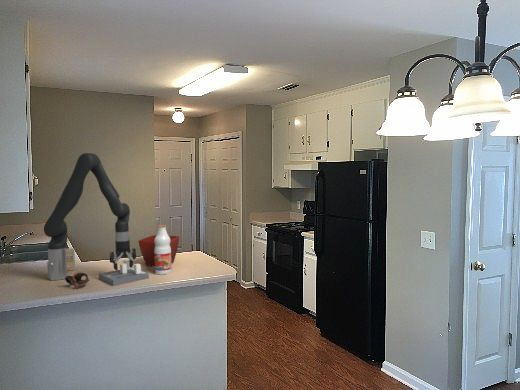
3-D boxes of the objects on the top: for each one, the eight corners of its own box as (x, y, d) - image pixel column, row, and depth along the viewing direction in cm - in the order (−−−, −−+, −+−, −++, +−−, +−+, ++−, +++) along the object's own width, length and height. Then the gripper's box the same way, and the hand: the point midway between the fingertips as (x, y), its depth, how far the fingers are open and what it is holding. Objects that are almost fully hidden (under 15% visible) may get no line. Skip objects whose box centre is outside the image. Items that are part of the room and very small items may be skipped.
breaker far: (126, 270, 240) (125, 261, 240) (123, 269, 242) (123, 260, 242) (130, 269, 242) (130, 260, 241) (128, 268, 244) (127, 259, 244)
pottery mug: (90, 283, 227) (91, 272, 223) (84, 296, 219) (86, 284, 215) (66, 279, 225) (68, 268, 221) (60, 292, 217) (61, 280, 213)
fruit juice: (174, 271, 248) (173, 224, 246) (165, 275, 239) (163, 226, 237) (161, 270, 252) (160, 223, 250) (151, 274, 243) (150, 225, 241)
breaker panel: (113, 285, 220) (113, 280, 220) (99, 278, 235) (99, 273, 234) (148, 278, 234) (148, 273, 234) (133, 272, 248) (133, 267, 248)
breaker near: (136, 274, 231) (136, 265, 230) (134, 273, 233) (133, 264, 232) (140, 273, 232) (140, 264, 232) (138, 272, 234) (138, 263, 234)
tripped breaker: (122, 273, 232) (122, 264, 232) (120, 272, 234) (120, 263, 234) (127, 272, 234) (126, 264, 233) (124, 271, 236) (124, 263, 236)
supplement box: (59, 271, 252) (58, 250, 251) (60, 269, 257) (59, 248, 256) (74, 270, 254) (73, 249, 253) (75, 268, 259) (74, 247, 258)
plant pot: (166, 269, 255) (165, 241, 254) (138, 267, 260) (137, 240, 258) (180, 261, 273) (179, 236, 272) (154, 260, 278) (153, 235, 277)
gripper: (112, 242, 225) (114, 272, 226) (137, 238, 235) (138, 267, 236) (106, 240, 231) (108, 269, 232) (131, 237, 240) (132, 265, 241)
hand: (123, 268), depth 234 cm, fingers open, 8 cm apart
